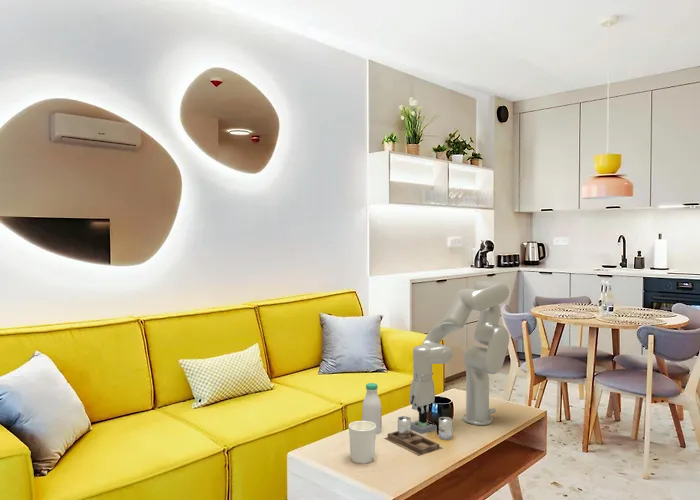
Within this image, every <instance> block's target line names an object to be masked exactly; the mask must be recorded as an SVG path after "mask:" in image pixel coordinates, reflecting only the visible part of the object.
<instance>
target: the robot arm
mask: <svg viewBox="0 0 700 500" xmlns="http://www.w3.org/2000/svg"><path fill="white" fill-rule="evenodd" d="M473 287H474V288H467V287H465V288H461V289H460V290H459V291H458V292H457V293H456V295H455V297H454V299H453V301H452V303H451V304H450V307H449V308H448V310H447V312H446V314H445V316H444V318H442V319H441V320H440V321H439V322H437V323H436V324H435V325H434V326H432V328H431V329H430V330H428V333H427V334H426V336H425V337H424V340H423V342H422V345H415V346H414V347H413V349H412V368H413V369H412V370H413V371H412V375H413V376H412V377H413V378H412V380H411V383H410V390H409V404H410V405H412V406H411V409H412V410H413V411H417V412H418V421H420V422H422V423H425V422H427V421H428V412H429V409H430V408H429V404H431V403H435V397H436V394H435V385H434V384H435V383H434V380H433V375H434V373H433V364H434V365H436V364H437V365H443V364H444V365H445V364H447V363H448V362H450V361H451V359H452V357H453V352H452V350H451V349H450V348H449V347H448V346H447V345H444V344H441V341H442V340H443V339H444V338H445V337H446V336H447V335H449V334H450V333H454V332H456V331H459V330H462V329H464V326H465V324H466V323H467V321H468V318H469V316H470V315H471V312H472V311H476V312H477V311H478V312H479V316H478V319H477V322H476V326H475V329H474V335H473V337H474V340H475V341H476V342H477V343H479V344H481V345H484V346H487V348H485V347H482V346H478V345H477V346H476V345H474V346H472V345H471V346H470V347H468V348H467V349H466V350H465V353H464V355H463V359H464V360H463V361H464V362H463V363H464V366H465V373H466V375H465V377H466V379H465V381H466V382H465V383H466V384H465V385H466V397H465V398H466V399H465V401H466V402H465V405H466V407H465V409H466V410H465V414H462V421H463V422H465V423H466V424H469V425H474V426H486V425H490V424H492V423H493V422H494V418H493V417H492V416H491V415H492V414H495V413H497V409H496V408H490V377H489V375H495V374H498V373H499V372H501V369H502V368H503V365H504V362H505V358H506V355H507V351H508V348H509V344H510V333H509V331H508V329H507V328H506V327H504V326H503V325H500V324H499V323H500V319H501V307H500V305H501V304H503V303H504V302H506V301H507V299H508V298H509V296H510V288H509V286H508V285H506V284H505V283H504V282H500V281H492V280H486V279H485V280H478V281H477V282H476V283H474V286H473Z"/></svg>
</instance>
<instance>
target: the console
mask: <svg viewBox="0 0 700 500" xmlns="http://www.w3.org/2000/svg"><path fill="white" fill-rule="evenodd" d="M418 421H419V420H415V421H411V431H412V430H413V431H415V432H416V433H419V434H420V435H423V434H426V433H430V432H432V431H433V432H434V431H436V430H437V427H438V426H436V425H437V424H435V425H432V424H429V423H428V422H429V421H428V420H427V426H424V427H420V426H418Z"/></svg>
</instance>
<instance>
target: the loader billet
mask: <svg viewBox="0 0 700 500" xmlns="http://www.w3.org/2000/svg"><path fill="white" fill-rule="evenodd" d="M411 423H412V418H411V417H410V416H408V415H407V416H406V415H402V416H401V415H400V416H397V431H398V437H399V438H401V439H403V440H404V439H407V438H411V432H412V429H411Z"/></svg>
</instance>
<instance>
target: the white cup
mask: <svg viewBox="0 0 700 500" xmlns="http://www.w3.org/2000/svg"><path fill="white" fill-rule="evenodd" d="M348 431H349V434H348V435H349V447H350V448H349V452H350V460H351V461H352V462H354V463H358V464H368V463H369V464H370V463H371V462H373V461H374V459H375V451H376V435H377V434H376V424H375V423H373V422H369V421H362V420H357V421H352V422H350V423H349V425H348Z"/></svg>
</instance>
